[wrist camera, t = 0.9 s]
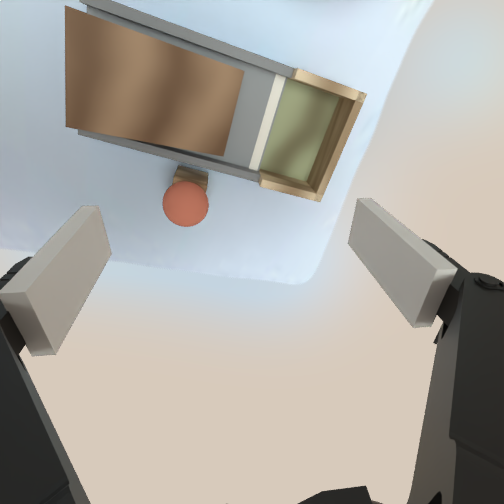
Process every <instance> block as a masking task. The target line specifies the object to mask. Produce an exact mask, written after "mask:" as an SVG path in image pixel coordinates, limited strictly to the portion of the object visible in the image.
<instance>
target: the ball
mask: <svg viewBox="0 0 504 504" xmlns="http://www.w3.org/2000/svg"><path fill="white" fill-rule="evenodd" d="M208 207H209V203H208V198H207V195H206V193H205V192H204V190H203V189H202V188H201V187H200V186H198V185H197V184H195V183H192V182H188V181H181V182H177V183H175V184H173V185H172V186H170V187H169V188H168V189H167V191H166V192H165V194H164V197H163V210H164V212H165V214H166V216H167V217H168V219H169V220H170V221H172V222H173V223H175V224H176V225H179V226H184V227H189V226H194V225H196V224H198V223H200V222H201V221H202V220H203V219H204V217H205V216H206V214H207V212H208Z"/></svg>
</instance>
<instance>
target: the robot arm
mask: <svg viewBox="0 0 504 504" xmlns="http://www.w3.org/2000/svg"><path fill="white" fill-rule="evenodd" d="M348 244H349V246H350V247H351V248H352V250H353V251H354V252H355V253H356V255H357V256H358V257H359V258H360V260H361V261H362V262H363V264H364V265H365V266H366V268H367V269H368V270H369V272H370V273H371V274H372V275H373V277H374V278H375V279H376V280H377V282H378V283H379V284H380V286H381V287H382V288H383V290H384V291H385V292H386V294H387V295H388V296H389V298H390V299H391V300H392V301H393V303H394V304H395V305H396V307H397V308H398V309H399V310H400V312H401V313H402V314H403V315H404V317H405V318H406V319H407V321H408V322H409V323H410V325H411V326H412V327H413V328H418V327H431V326H432V324H433V322H434V319H435V317H436V315H438V316H439V317H440V318H441V319H442V321H443V324H442V326H441V328H440V330H439V332H438V334H437V336H436V339H435V340H434V343H435V344H437V349H436V354H435V360H434V365H433V371H432V376H431V382H430V387H429V393H428V399H427V405H426V410H425V415H424V421H423V426H422V432H421V437H420V443H419V449H418V454H417V460H416V465H415V471H414V477H413V482H412V488H411V492H410V496H409V499H408V502H407V504H504V282H502V281H501V280H499V279H497V278H495V277H492V276H490V275H487V274H482V273H470V272H468V271H467V270H466V269H465V268H463V267H462V266H461V265H460V264H458V263H457V262H456V261H455V260H453V259H452V258H449V256H448V255H447V254H446V253H444V252H442V250H441V249H439V248H438V247H437V246H435V245H434V244H432V243H430V242H428V241H426V240H424V239H421V238H420V237H418V236H417V235H416V234H415V233H413V232H412V231H411V230H410V229H408V228H407V227H406V226H405V225H404V224H402V223H401V222H400V221H399V220H397V219H396V218H395V217H394V216H392V215H391V214H390V213H389V212H388V211H386V210H385V209H384V208H383V207H381V206H380V205H379V204H378V203H376V202H375V201H374V200H373V199H372V198H358V199H357V202H356V207H355V212H354V217H353V221H352V226H351V231H350V236H349V241H348ZM111 254H112V253H111V249H110V246H109V242H108V238H107V235H106V231H105V227H104V224H103V220H102V216H101V213H100V209H99V206H82V207H81V208H80V209H79V210H78V211H77V212H76V213H75V214H74V215H73V216H72V217H71V218H70V219H69V220H68V221H67V222H66V223H65V224H64V225H63V226H62V227H61V228H60V229H59V230H58V231H57V232H56V233H55V234H54V235H53V236H52V238H51V239H50V240H49V241H48V242H47V243H46V244H45V245H44V246H43V247H42V248H41V249H40V250H39V251H38V252H37V253H36V254H35V255H34V256H33V257H27V258H25V259H24V260H22V261H20V262H18V263H16V264H15V265H14V266H13V267H12V268H11V269H10V270H9V271H8V272H7V274H5V275H4V276H3V277H2V278H1V279H0V504H90V501H89V499H88V497H87V496H86V493H85V491H84V489H83V487H82V485H81V483H80V481H79V478H78V476H77V474H76V472H75V470H74V468H73V466H72V464H71V462H70V459H69V458H68V455H67V453H66V451H65V449H64V447H63V445H62V443H61V441H60V439H59V436H58V434H57V432H56V430H55V428H54V426H53V424H52V422H51V420H50V417H49V415H48V414H47V411H46V409H45V408H44V405H43V403H42V401H41V399H40V397H39V394H38V393H37V390H36V388H35V386H34V384H33V382H32V380H31V378H30V375H29V373H28V371H27V369H26V367H25V365H24V363H23V361H22V359H21V357H20V356H19V353H20V352H21V350H22V349H23V347H24V346H25V345H26V346H27V348H28V350H29V352H30V354H31V355H32V356H43V355H56V353H57V351H58V349H59V348H60V346H61V344H62V342H63V340H64V339H65V337H66V335H67V333H68V331H69V330H70V328H71V326H72V324H73V323H74V321H75V319H76V317H77V315H78V314H79V312H80V310H81V308H82V306H83V304H84V303H85V301H86V299H87V297H88V296H89V294H90V292H91V290H92V288H93V287H94V285H95V283H96V281H97V279H98V278H99V276H100V274H101V272H102V270H103V269H104V267H105V265H106V263H107V261H108V260H109V258H110V256H111ZM298 504H382V503H379V502H376V501H372V500H371V499H370V496H369V493H368V490H367V487H366V486H360V487H352V488H345V489H336V490H329V491H322V492H320V493H318V494H316V495H314V496H312V497H310V498H308V499H306V500H304V501H302V502H300V503H298Z"/></svg>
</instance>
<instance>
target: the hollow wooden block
mask: <svg viewBox="0 0 504 504" xmlns="http://www.w3.org/2000/svg"><path fill="white" fill-rule="evenodd" d="M181 181H188V182H192V183H195V184H197V185H198V186H200V187H201V188H202V189H203V190H204V192H205V193H206V189H207V184H208V173H207V172H203V171H199V170H195V169H191V168H188V167H184V166H180V165H178V168H177V170H176V173H175V175H174V178H173V184H175V183H177V182H181ZM173 184H172V185H173Z"/></svg>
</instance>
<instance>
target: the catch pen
mask: <svg viewBox="0 0 504 504" xmlns="http://www.w3.org/2000/svg"><path fill="white" fill-rule="evenodd" d="M366 95H367V94H366V93H363V92H360V91H358V90H355V89H352V88H350V87H347V86H344V85H342V84H339V83H336V82H334V81H331V80H328V79H325V78H323V77H320V76H317V75H315V74H312V73H309V72H307V71H304V70H301V69H299V68H294V71H293V74H292V77H291V78H288V79H287V82H286V85H285V88H284V91H283V95H282V98H281V101H280V104H279V108H278V111H277V114H276V117H275V120H274V124H273V127H272V130H271V133H270V137H269V140H268V143H267V146H266V149H265V153H264V156H263V159H262V162H261V166H260V169H259V173H260V175H261V176H260V179H259V185H260V187H264V188H268V189H271V190H275V191H279V192H283V193H287V194H290V195H294V196H298V197H302V198H306V199H310V200H313V201H317V202H320V201H321V199H322V197H323V195H324V192H325V190H326V188H327V185H328V183H329V181H330V178H331V176H332V174H333V171H334V169H335V167H336V165H337V162H338V160H339V158H340V155H341V153H342V151H343V148H344V146H345V144H346V141H347V139H348V137H349V135H350V132H351V130H352V128H353V125H354V123H355V121H356V118H357V116H358V114H359V112H360V109H361V107H362V105H363V102H364V100H365V98H366Z"/></svg>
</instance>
